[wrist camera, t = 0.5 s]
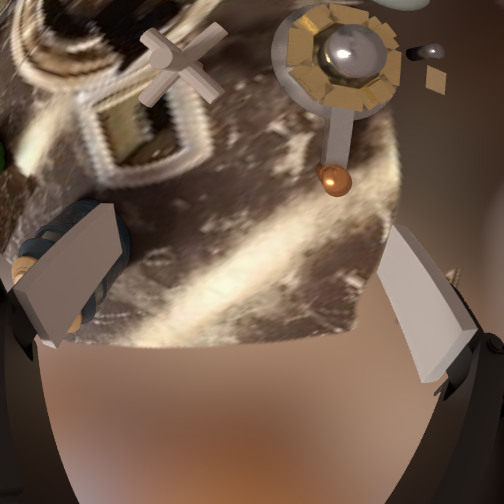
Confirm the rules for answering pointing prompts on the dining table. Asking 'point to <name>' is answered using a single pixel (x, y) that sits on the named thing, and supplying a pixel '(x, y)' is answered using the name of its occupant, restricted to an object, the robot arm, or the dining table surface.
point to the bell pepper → (2, 158)
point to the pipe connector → (181, 64)
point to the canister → (53, 233)
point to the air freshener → (403, 4)
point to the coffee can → (4, 5)
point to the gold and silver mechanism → (346, 60)
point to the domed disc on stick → (335, 96)
